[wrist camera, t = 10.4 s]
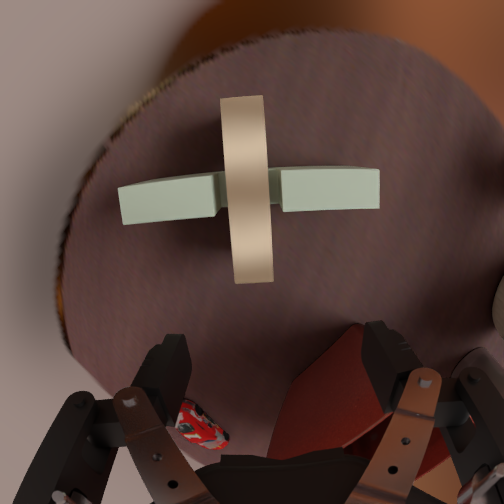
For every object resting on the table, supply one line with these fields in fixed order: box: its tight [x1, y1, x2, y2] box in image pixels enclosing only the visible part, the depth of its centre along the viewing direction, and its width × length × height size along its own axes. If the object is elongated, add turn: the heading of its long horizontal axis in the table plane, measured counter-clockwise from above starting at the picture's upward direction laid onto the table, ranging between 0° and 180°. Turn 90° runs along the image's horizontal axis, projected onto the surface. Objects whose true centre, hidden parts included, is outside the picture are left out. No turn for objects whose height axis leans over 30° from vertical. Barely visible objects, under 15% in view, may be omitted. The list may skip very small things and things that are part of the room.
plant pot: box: [266, 324, 476, 481], centre depth 27 cm, size 19×19×17 cm
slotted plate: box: [220, 95, 274, 284], centre depth 24 cm, size 14×3×8 cm, turn 4°
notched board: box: [118, 166, 379, 225], centre depth 24 cm, size 20×3×8 cm, turn 94°
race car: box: [175, 399, 229, 450], centre depth 38 cm, size 13×5×4 cm, turn 27°
